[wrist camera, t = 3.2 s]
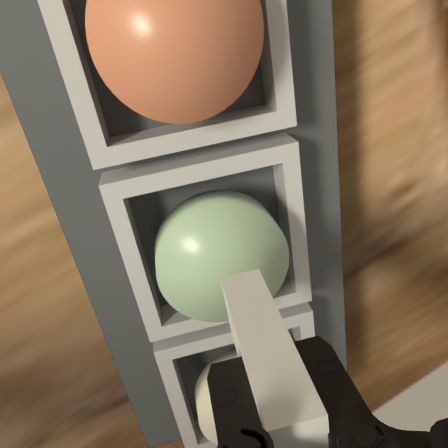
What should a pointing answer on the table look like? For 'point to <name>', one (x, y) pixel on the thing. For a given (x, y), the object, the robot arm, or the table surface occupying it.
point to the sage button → (216, 251)
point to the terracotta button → (175, 53)
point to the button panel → (182, 189)
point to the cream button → (208, 399)
